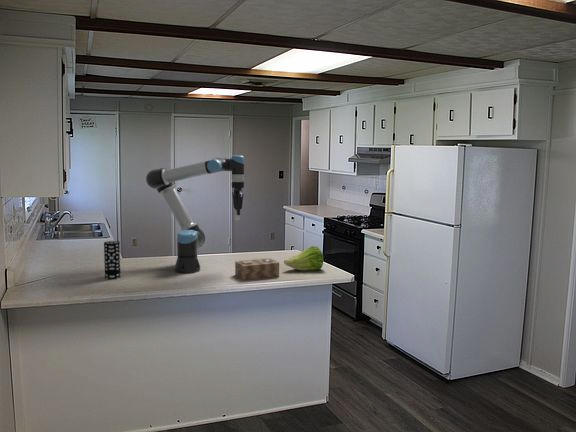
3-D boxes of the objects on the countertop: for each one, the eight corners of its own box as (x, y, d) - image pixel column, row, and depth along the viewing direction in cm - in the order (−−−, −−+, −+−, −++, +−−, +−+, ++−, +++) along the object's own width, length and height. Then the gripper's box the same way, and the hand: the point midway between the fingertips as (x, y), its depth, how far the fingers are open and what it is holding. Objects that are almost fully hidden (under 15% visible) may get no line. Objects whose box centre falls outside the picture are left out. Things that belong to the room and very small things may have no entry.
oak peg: (245, 276, 305) (245, 263, 303) (242, 275, 308) (242, 261, 307) (252, 276, 307) (252, 262, 305) (249, 274, 310) (249, 260, 309)
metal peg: (264, 274, 310) (264, 261, 309) (261, 273, 314) (261, 259, 313) (271, 274, 312) (271, 260, 311) (268, 272, 316) (268, 259, 315)
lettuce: (289, 276, 314) (280, 272, 328) (326, 269, 324) (316, 266, 338) (287, 252, 313) (278, 249, 327) (324, 246, 322) (314, 243, 336)
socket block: (243, 280, 300) (243, 266, 298) (235, 274, 311) (235, 261, 310) (279, 276, 310) (279, 262, 308) (269, 271, 321) (269, 258, 320)
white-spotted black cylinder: (111, 280, 295) (110, 244, 292) (101, 277, 299) (100, 242, 296) (123, 277, 302) (122, 242, 299) (113, 274, 306) (112, 240, 303)
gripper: (247, 182, 318) (247, 221, 321) (239, 180, 329) (239, 218, 332) (236, 182, 314) (235, 222, 318) (228, 180, 326) (228, 219, 329)
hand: (237, 220), depth 325 cm, fingers closed
